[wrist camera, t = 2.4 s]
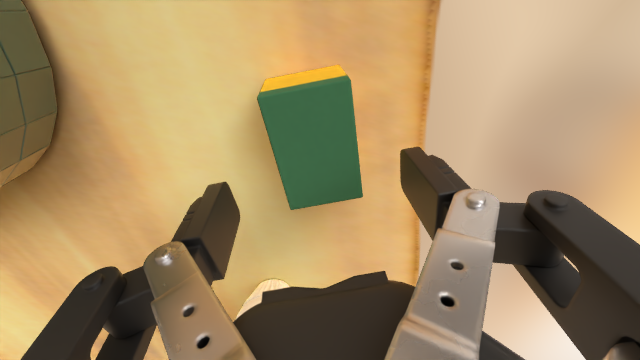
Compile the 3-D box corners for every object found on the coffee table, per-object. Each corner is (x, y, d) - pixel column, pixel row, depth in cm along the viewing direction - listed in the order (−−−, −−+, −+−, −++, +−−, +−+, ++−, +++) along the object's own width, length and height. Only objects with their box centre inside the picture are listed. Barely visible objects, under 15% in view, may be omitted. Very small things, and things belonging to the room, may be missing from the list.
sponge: (265, 78, 16) (256, 97, 13) (339, 64, 16) (350, 79, 12) (291, 176, 20) (290, 210, 16) (351, 165, 20) (363, 197, 16)
